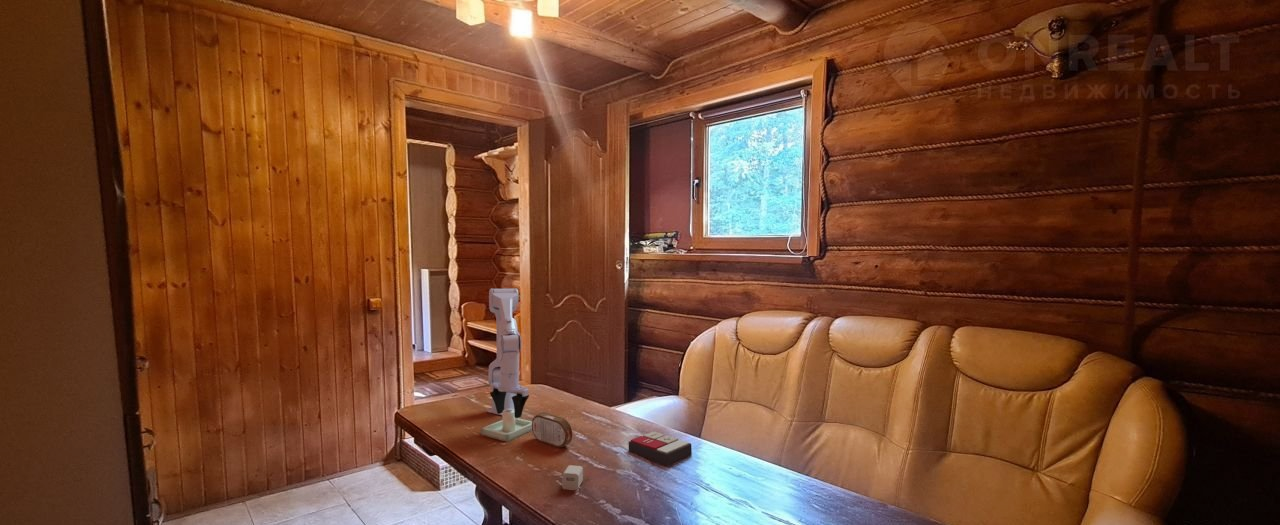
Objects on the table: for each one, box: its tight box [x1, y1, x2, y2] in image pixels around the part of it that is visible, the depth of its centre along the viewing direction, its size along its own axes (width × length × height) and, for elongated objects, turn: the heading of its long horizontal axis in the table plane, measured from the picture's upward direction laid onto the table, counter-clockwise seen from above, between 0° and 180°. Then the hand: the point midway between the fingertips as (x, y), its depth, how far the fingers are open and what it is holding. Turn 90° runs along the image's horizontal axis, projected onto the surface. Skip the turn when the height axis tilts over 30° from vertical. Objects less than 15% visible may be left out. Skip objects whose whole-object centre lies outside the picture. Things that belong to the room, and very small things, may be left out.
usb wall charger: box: [561, 464, 584, 491], centre depth 120 cm, size 4×7×4 cm, turn 172°
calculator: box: [628, 431, 692, 468], centre depth 139 cm, size 11×4×15 cm
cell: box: [501, 408, 515, 432], centre depth 154 cm, size 4×4×6 cm
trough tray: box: [480, 417, 533, 443], centre depth 154 cm, size 13×11×2 cm
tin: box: [531, 411, 573, 448], centre depth 145 cm, size 15×3×8 cm, turn 55°
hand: (509, 415), depth 154 cm, fingers open, 7 cm apart
